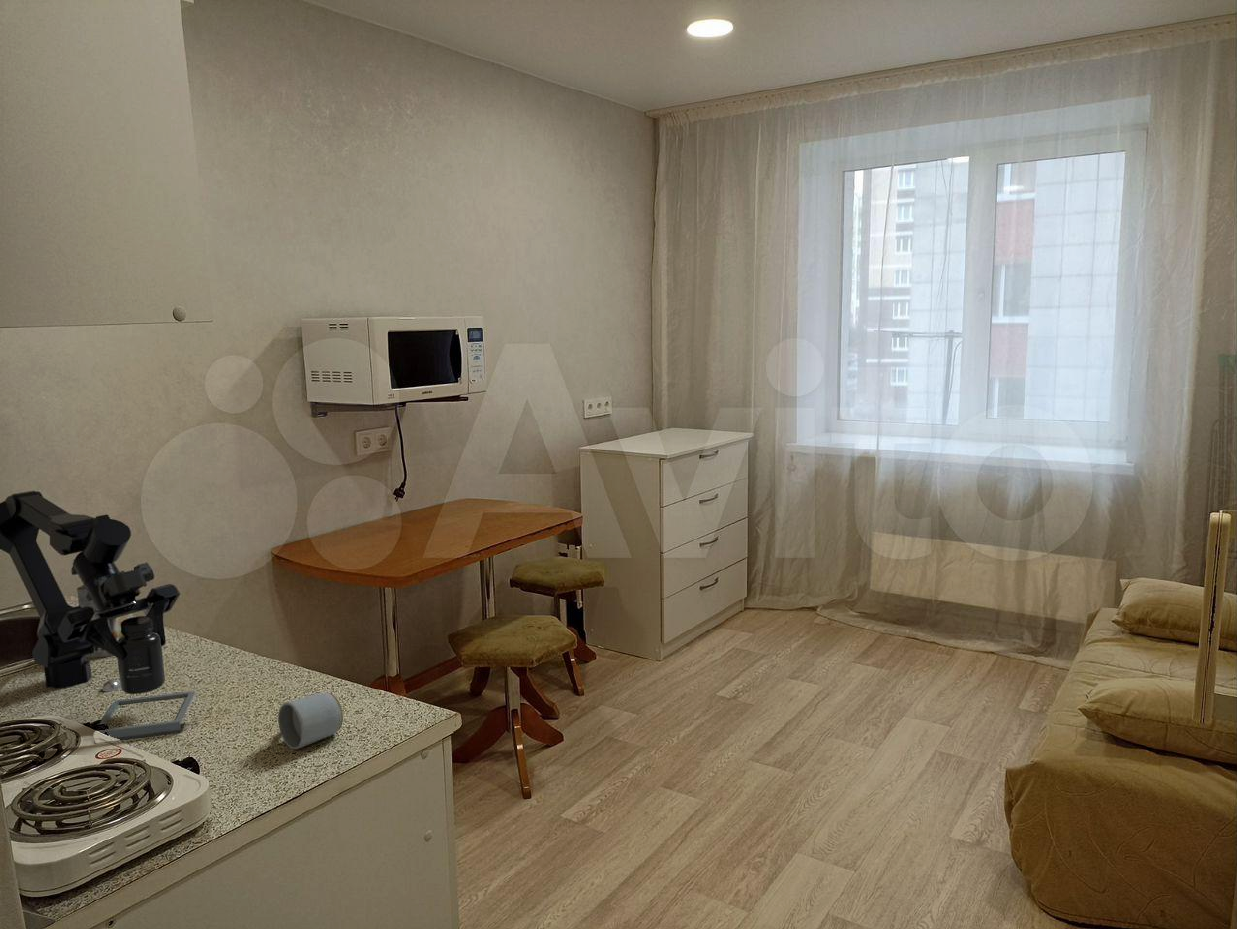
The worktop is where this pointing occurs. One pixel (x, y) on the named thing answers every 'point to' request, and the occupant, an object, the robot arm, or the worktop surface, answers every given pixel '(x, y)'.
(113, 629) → the coffee box
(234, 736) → the worktop surface
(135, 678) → the supplement bottle
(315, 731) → the ceramic mug
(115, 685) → the mixing ball
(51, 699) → the worktop surface
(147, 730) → the tray
